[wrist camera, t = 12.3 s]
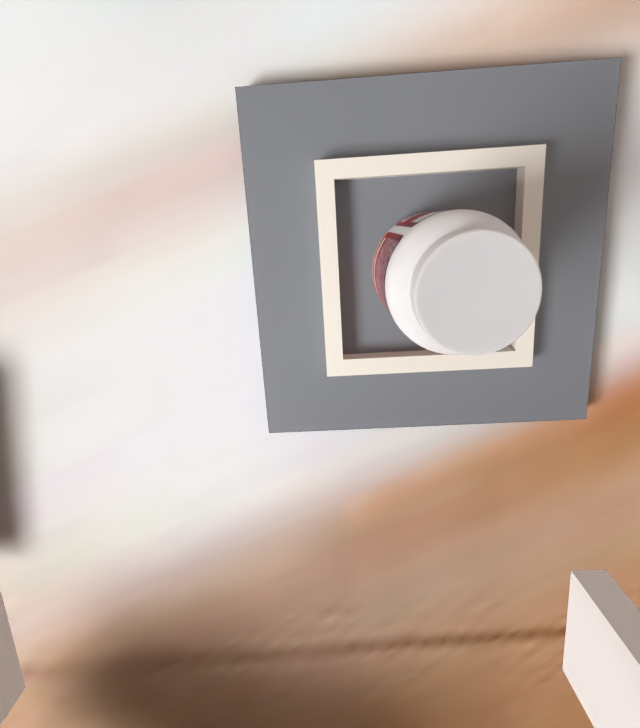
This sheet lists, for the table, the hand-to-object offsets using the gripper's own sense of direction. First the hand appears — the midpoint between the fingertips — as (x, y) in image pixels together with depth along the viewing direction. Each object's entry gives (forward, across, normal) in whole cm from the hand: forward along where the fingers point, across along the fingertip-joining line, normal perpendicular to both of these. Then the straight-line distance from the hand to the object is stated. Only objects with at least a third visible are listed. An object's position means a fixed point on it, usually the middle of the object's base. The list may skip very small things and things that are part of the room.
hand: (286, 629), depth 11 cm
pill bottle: (+20, -7, -7) cm, 22 cm away
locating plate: (+21, -7, -7) cm, 23 cm away
